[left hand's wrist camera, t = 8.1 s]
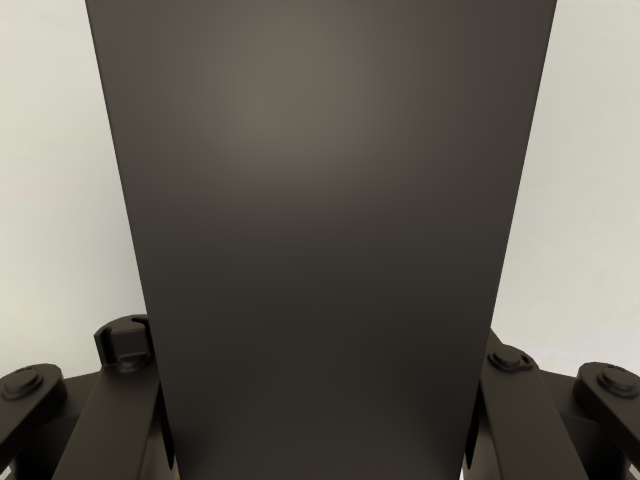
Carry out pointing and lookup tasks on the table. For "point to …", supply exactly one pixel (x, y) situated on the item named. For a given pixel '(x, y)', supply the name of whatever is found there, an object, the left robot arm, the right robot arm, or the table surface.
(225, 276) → the bar
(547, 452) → the left robot arm
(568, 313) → the table surface
